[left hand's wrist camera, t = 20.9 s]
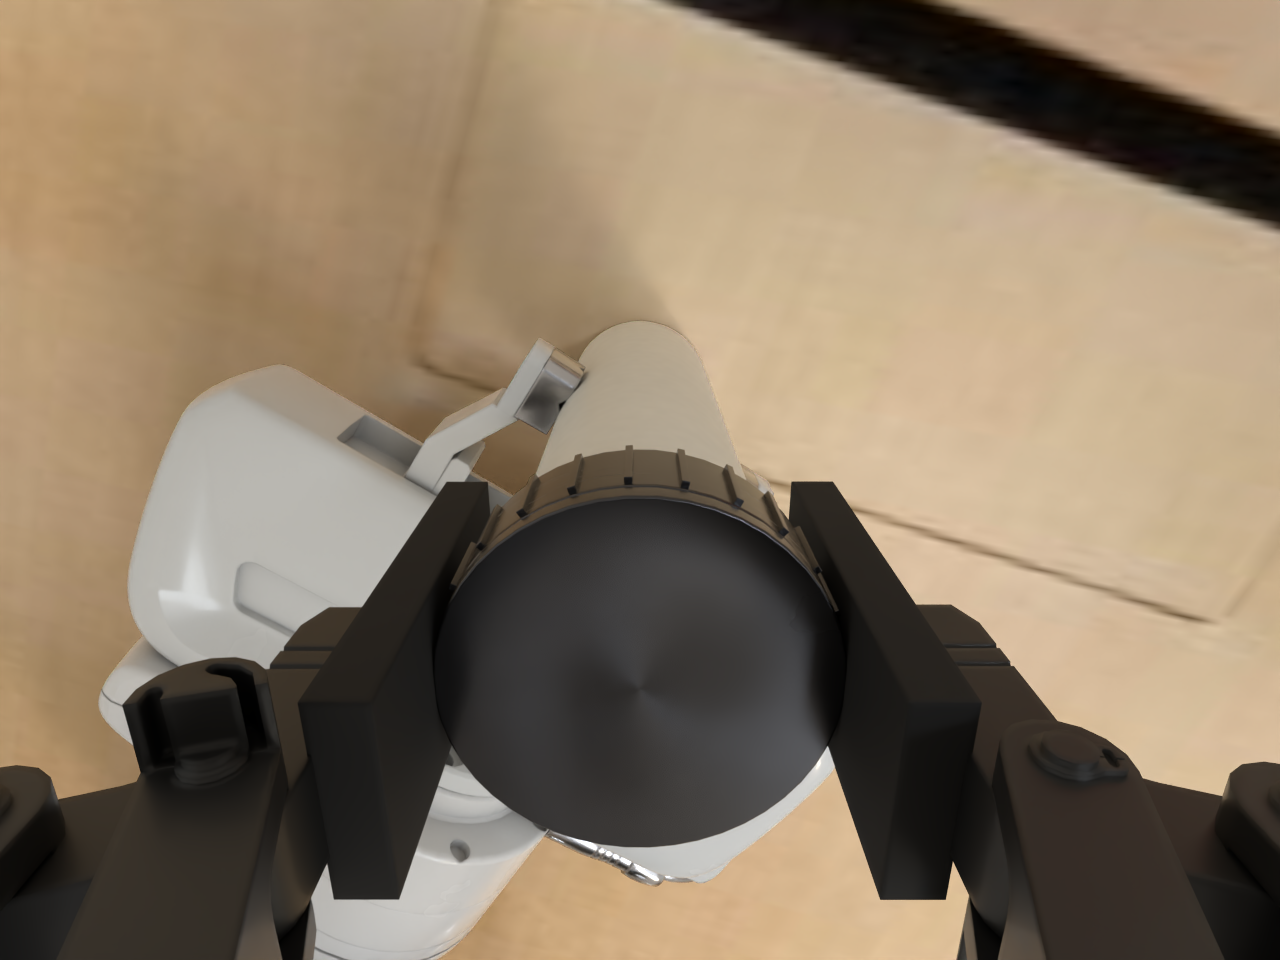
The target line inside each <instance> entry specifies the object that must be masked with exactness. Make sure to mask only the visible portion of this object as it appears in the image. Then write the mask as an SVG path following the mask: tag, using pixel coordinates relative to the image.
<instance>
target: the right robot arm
mask: <svg viewBox="0 0 1280 960" xmlns="http://www.w3.org/2000/svg"><path fill="white" fill-rule="evenodd" d="M585 368H586V367H585V366H583V365H582V364H580V363H579V362H577V361H576V360H574V359H573V358H571V357H570V356H568V355H567V354H565V353H564V352H562V351H560V350H559V349H557V348H555V346H553V345H552V344H550V343H548V342H547V341H545V340H543V339H541V338H540V337H539V338H538V340H537V341H536V343H535V344H534V346H533V347H532V349H531V350H530V352H529V353H528V355H527V356H526V358H525V359H524V361H523V363H522V364H521V366H520V368H519V369H518V371H517V373H516V374H515V376H514V378H513V379H512V381H511V383H510V384H509V386H508V388H507V389H506V388H504V387H503V388H501V389H500V390H498V391H496V392H494V393H492V394H490V395H488V396H486V397H484V398H482V399H480V400H478V401H476V402H474V403H472V404H470V405H468V406H466V407H465V408H463V409H461V410H459V411H457V412H455V413H453V414H451V415H449V416H447V417H445V418H444V419H443V420H442V422H441V423H440V424H439V425H438V426H437V427H436V428H435V430H434V431H433V432H432V433H431V434H430V435H429V436H428V438H427V439H426V440H425V442H424V443H422V442H420V441H419V440H417V439H415V438H414V437H412V436H410V435H408V434H407V433H405V432H403V431H401V430H400V429H398V428H396V427H395V426H393V425H391V424H389V423H388V422H386V421H384V420H383V419H381V418H379V417H377V416H376V415H374V414H372V413H370V412H369V411H367V410H365V409H364V408H362V407H360V406H358V405H357V404H355V403H353V402H352V401H350V400H348V399H346V398H345V397H343V396H341V395H339V394H338V393H336V392H334V391H333V390H331V389H329V388H327V387H326V386H324V385H322V384H321V383H319V382H317V381H315V380H314V379H312V378H310V377H309V376H307V375H305V374H303V373H302V372H300V371H298V370H296V369H295V368H292V367H290V366H287V365H281V364H277V365H272V366H267V367H264V368H260V369H256V370H252V371H249V372H245V373H242V374H240V375H237V376H234V377H231V378H229V379H227V380H224V381H222V382H220V383H218V384H216V385H214V386H212V387H211V388H209V389H207V390H206V391H204V392H203V393H202V394H200V395H199V396H197V397H196V398H195V399H194V400H193V401H192V402H191V403H190V404H189V405H188V407H187V408H186V409H185V411H184V412H183V413H182V415H181V417H180V419H179V421H178V423H177V425H176V427H175V429H174V431H173V433H172V435H171V437H170V440H169V442H168V444H167V447H166V449H165V451H164V454H163V456H162V459H161V462H160V464H159V467H158V469H157V472H156V475H155V477H154V480H153V483H152V486H151V489H150V492H149V495H148V498H147V501H146V504H145V507H144V511H143V514H142V517H141V520H140V524H139V528H138V531H137V535H136V539H135V543H134V547H133V551H132V555H131V559H130V563H129V570H128V581H127V592H128V601H129V607H130V610H131V614H132V617H133V619H134V621H135V623H136V625H137V627H138V629H139V631H140V632H141V634H142V637H141V638H140V639H139V640H138V641H137V642H136V643H135V644H134V645H133V646H132V647H131V649H130V650H129V651H128V652H127V654H126V655H125V656H124V657H123V659H122V660H121V661H120V662H119V663H118V665H117V666H116V667H115V668H114V670H113V671H112V673H111V674H110V675H109V677H108V678H107V680H106V682H105V683H104V685H103V687H102V689H101V692H100V695H99V701H98V706H99V710H100V713H101V715H102V717H103V718H104V720H105V721H106V722H107V723H108V725H109V726H110V727H111V728H112V729H113V730H114V731H115V732H117V733H118V734H119V735H120V736H121V737H123V738H124V739H125V740H126V741H128V742H129V743H130V744H131V745H133V743H132V739H131V735H130V732H129V728H128V725H127V721H126V718H125V714H124V710H123V707H122V704H123V703H124V702H125V701H126V700H127V699H128V698H129V696H130V695H131V694H132V693H133V692H134V691H135V690H136V689H137V688H139V687H140V686H142V685H143V684H145V683H146V682H148V681H149V680H151V679H153V678H154V677H156V676H157V675H159V674H162V673H164V672H167V671H169V670H172V669H174V668H177V667H179V666H181V665H184V664H188V663H192V662H197V661H201V660H205V659H210V658H226V657H238V658H243V659H247V660H252V661H255V662H257V663H258V664H259V665H261V666H262V667H263V668H264V669H269V668H270V663H271V662H272V661H273V660H274V658H275V657H276V656H277V655H278V653H279V652H280V651H283V650H284V646H285V644H286V643H287V642H288V641H289V639H290V638H291V637H292V636H293V634H294V633H295V632H296V631H297V629H298V628H299V627H300V625H302V624H304V623H305V622H307V621H308V620H310V619H311V618H313V617H314V616H316V615H318V614H319V613H321V612H322V611H324V610H325V609H327V608H328V607H362V606H363V605H364V603H365V602H366V600H367V599H368V597H369V596H370V594H371V593H372V591H373V590H374V588H375V587H376V586H377V584H378V583H379V581H380V580H381V578H382V577H383V575H384V574H385V572H386V571H387V569H388V568H389V566H390V565H391V563H392V562H393V560H394V559H395V557H396V556H397V554H398V553H399V551H400V550H401V549H402V547H403V546H404V544H405V543H406V541H407V540H408V538H409V537H410V535H411V534H412V532H413V531H414V529H415V528H416V526H417V525H418V523H419V522H420V520H421V519H422V517H423V516H424V514H425V513H426V512H427V510H428V509H429V507H430V506H431V504H432V503H433V501H434V500H435V498H436V497H437V495H438V494H439V492H440V491H441V489H442V488H443V486H444V485H445V483H446V482H488V490H489V504H490V515H491V513H492V510H493V508H494V507H495V506H496V505H497V504H498V505H500V506H501V507H502V506H503V505H504V504H505V503H506V502H507V501H508V500H509V499H510V498H511V497H513V496H514V495H512V494H510V493H508V492H507V491H505V490H503V489H502V488H500V487H498V486H496V485H495V484H493V483H491V482H490V481H488V480H486V479H484V478H483V477H481V476H479V475H477V474H476V473H474V472H472V469H473V468H474V466H475V464H476V462H477V461H478V459H479V457H480V455H481V454H482V452H483V450H484V449H485V447H486V446H485V442H484V441H483V440H482V439H484V438H486V437H488V436H489V435H491V434H493V433H495V432H497V431H499V430H501V429H503V428H504V427H506V426H508V425H510V424H512V423H514V422H516V421H518V419H520V420H521V421H523V422H525V423H527V424H528V425H530V426H532V427H534V428H535V429H537V430H539V431H541V432H542V433H544V434H546V435H547V433H548V432H549V430H550V428H551V427H552V425H553V424H554V422H555V421H556V419H557V417H558V415H559V412H560V410H561V407H562V404H563V402H564V401H567V400H568V399H569V397H570V396H571V395H572V394H573V392H574V390H575V389H576V387H577V386H578V384H579V382H580V380H581V378H582V376H583V374H584V370H585ZM741 467H742V470H743V472H744V475H745V478H746V480H747V481H748V482H750V483H751V484H752V485H753V486H755V487H756V488H757V489H759V490H760V491H761V492H763V493H764V494H765V493H766V492H767V491H769V492H770V493H771V494H773V496H774V493H773V491H772V489H771V486H770V484H769V482H768V480H766V479H765V478H763V477H761V476H760V475H758V474H756V473H755V472H753V471H752V470H750V469H749V468H747V467H745V466H744V465H742V464H741ZM834 768H835V765H834V763H833V760H832V757H831V754H830V751H829V748H828V746H827V748H826V749H825V751H824V753H823V754H822V756H821V757H820V759H819V761H818V762H817V764H816V765H815V766H814V768H813V769H812V770H811V771H810V772H809V774H808V775H807V776H806V777H805V778H804V780H803V781H802V782H801V783H800V784H799V785H798V786H797V787H796V788H794V789H793V790H792V791H791V792H790V793H789V794H788V795H787V796H786V797H785V798H784V799H782V800H781V801H780V802H778V803H777V804H775V805H774V806H773V807H771V808H770V809H769V810H767V811H766V812H764V813H762V814H761V815H759V816H757V817H755V818H754V819H752V820H750V821H748V822H747V823H745V824H743V825H740V826H738V827H736V828H733V829H731V830H729V831H726V832H724V833H722V834H718V835H715V836H712V837H708V838H705V839H702V840H699V841H694V842H689V843H684V844H678V845H672V846H661V847H650V848H644V847H618V846H609V845H600V844H596V843H591V842H586V841H582V840H577V839H574V838H571V837H568V836H565V835H562V834H559V833H556V832H553V831H551V830H548V829H546V828H544V827H542V826H540V825H537V824H535V823H533V822H531V821H529V820H527V819H526V818H524V817H522V816H521V815H519V814H517V813H516V812H514V811H512V810H511V809H509V808H508V807H507V806H505V805H504V804H503V803H502V802H500V801H499V800H498V799H496V798H495V797H494V796H492V795H491V794H490V793H489V792H488V791H487V790H486V789H485V788H484V787H483V786H482V785H481V784H480V783H479V782H478V781H477V780H476V779H475V778H474V777H473V775H472V774H471V773H470V772H469V770H468V769H467V768H466V767H465V765H464V764H463V763H462V762H461V760H460V758H459V757H458V755H457V753H456V752H455V750H454V748H453V747H451V749H450V752H449V755H448V758H447V761H446V764H445V767H444V770H443V773H442V776H441V779H440V782H439V785H438V788H437V790H436V793H435V796H434V799H433V802H432V805H431V808H430V811H429V814H428V817H427V820H426V823H425V826H424V829H423V831H422V834H421V837H420V840H419V843H418V846H417V849H416V852H415V855H414V858H413V861H412V864H411V867H410V870H409V872H408V875H407V878H406V881H405V884H404V887H403V890H402V893H401V896H400V899H399V900H334V898H333V893H332V887H331V882H330V876H329V871H328V866H327V865H326V867H325V869H324V871H323V873H322V875H321V878H320V880H319V882H318V884H317V886H316V888H315V890H314V893H313V895H312V897H311V899H312V904H313V909H314V914H315V922H316V929H317V932H316V940H315V949H314V958H313V960H438V959H439V958H441V957H442V956H443V955H445V954H446V953H448V952H449V951H451V950H452V949H453V948H454V947H455V946H456V945H457V944H458V943H459V942H460V941H461V940H462V939H463V938H464V937H466V936H467V935H468V933H469V932H470V931H471V930H472V928H473V927H474V926H475V925H476V923H477V922H478V921H479V919H480V918H481V917H482V916H483V914H484V913H485V912H486V911H487V909H488V908H489V907H490V905H491V904H492V903H493V901H494V900H495V899H496V898H497V896H498V895H499V894H500V892H501V891H502V890H503V889H504V887H505V886H506V885H507V883H508V882H509V881H510V879H511V878H512V877H513V876H514V874H515V873H516V872H517V871H518V869H519V868H520V867H521V865H522V864H523V863H524V861H525V860H526V859H527V858H528V856H529V855H530V854H531V852H532V851H533V850H534V849H535V847H536V846H537V845H538V843H539V842H540V841H541V840H542V838H543V837H546V838H547V837H548V839H550V840H553V841H555V842H557V843H559V844H561V845H563V846H565V847H567V848H569V849H571V850H573V851H575V852H577V853H579V854H582V855H584V856H587V857H590V858H593V859H597V860H599V861H602V862H605V863H607V864H609V865H612V866H613V867H615V868H617V869H620V870H621V873H623V874H624V875H626V876H627V877H629V878H630V879H632V880H634V881H637V882H639V883H642V884H645V885H649V886H655V887H656V886H659V885H660V884H661V883H662V882H663V880H665V881H669V882H677V883H685V882H693V881H694V882H696V883H705V882H707V881H709V880H711V879H713V878H714V877H715V876H717V875H718V874H719V873H720V872H721V871H722V870H723V869H724V868H725V866H726V865H727V864H728V863H729V862H730V861H731V860H732V859H733V858H735V857H736V856H738V855H739V854H740V853H742V852H743V851H744V850H745V849H747V848H748V847H749V846H751V845H752V844H753V843H755V842H756V841H757V840H759V839H760V838H761V837H762V836H763V835H765V834H766V833H767V832H768V831H770V830H771V829H772V828H773V827H774V826H776V825H777V824H778V823H779V822H780V821H782V820H783V819H784V818H785V817H786V816H787V815H788V814H790V813H791V812H792V811H793V810H794V809H795V808H796V807H797V806H798V805H800V804H801V803H802V802H803V801H804V800H805V799H806V798H807V797H808V796H809V795H810V794H811V793H813V792H814V791H815V790H816V789H817V788H818V787H819V786H820V785H821V784H822V783H823V781H824V780H825V779H826V778H827V777H828V776H829V775H830V774H831V772H832V771H833V769H834Z"/></svg>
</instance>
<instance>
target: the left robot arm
mask: <svg viewBox="0 0 1280 960" xmlns="http://www.w3.org/2000/svg"><path fill="white" fill-rule="evenodd" d="M489 517H490V504H489V490H488V482H446V483H445V485H444V486H443V488H442V489H441V491H440V492H439V494H438V495H437V497H436V498H435V500H434V501H433V503H432V504H431V506H430V507H429V509H428V510H427V512H426V513H425V514H424V516H423V517H422V519H421V520H420V522H419V523H418V525H417V526H416V528H415V529H414V531H413V532H412V534H411V535H410V537H409V538H408V540H407V541H406V543H405V544H404V546H403V547H402V549H401V550H400V551H399V553H398V554H397V556H396V557H395V559H394V560H393V562H392V563H391V565H390V566H389V568H388V569H387V571H386V572H385V574H384V575H383V577H382V578H381V580H380V581H379V583H378V584H377V586H376V587H375V588H374V590H373V591H372V593H371V594H370V596H369V597H368V599H367V600H366V602H365V603H364V605H363V606H362V607H328V608H327V609H325V610H324V611H322V612H321V613H319V614H318V615H316V616H314V617H313V618H311V619H310V620H308V621H307V622H305V623H304V624H302V625H300V627H299V628H298V629H297V631H296V632H295V633H294V634H293V636H292V637H291V638H290V639H289V641H288V642H287V643H286V644H285V646H284V650H283V651H280V652H279V653H278V655H277V656H276V657H275V658H274V660H273V661H272V662H271V663H270V668H269V669H264V668H263V667H262V666H261V665H259V664H258V663H257V662H255V661H252V660H247V659H243V658H238V657H226V658H210V659H205V660H201V661H197V662H192V663H188V664H184V665H181V666H179V667H177V668H174V669H172V670H169V671H167V672H164V673H162V674H159V675H157V676H156V677H154V678H153V679H151V680H149V681H148V682H146V683H145V684H143V685H142V686H140V687H139V688H137V689H136V690H135V691H134V692H133V693H132V694H131V695H130V696H129V698H128V699H127V700H126V701H125V702H124V703H123V704H122V707H123V710H124V714H125V718H126V721H127V725H128V728H129V732H130V735H131V739H132V743H133V746H134V750H135V753H136V757H137V761H138V764H139V768H140V771H141V773H140V776H139V778H138V780H137V782H134V783H131V784H127V785H124V786H120V787H115V788H110V789H106V790H101V791H96V792H92V793H87V794H82V795H78V796H73V797H68V798H63V799H59V800H58V798H57V795H56V792H55V789H54V786H53V783H52V780H51V777H50V776H48V775H47V774H46V773H44V772H43V771H42V770H41V769H39V768H35V767H27V766H18V765H15V766H8V767H1V768H0V960H313V958H314V949H315V940H316V932H317V929H316V922H315V914H314V909H313V904H312V899H311V897H312V895H313V893H314V890H315V888H316V886H317V884H318V882H319V880H320V878H321V875H322V873H323V871H324V869H325V867H326V865H327V866H328V871H329V876H330V882H331V887H332V893H333V898H334V900H399V899H400V896H401V893H402V890H403V887H404V884H405V881H406V878H407V875H408V872H409V870H410V867H411V864H412V861H413V858H414V855H415V852H416V849H417V846H418V843H419V840H420V837H421V834H422V831H423V829H424V826H425V823H426V820H427V817H428V814H429V811H430V808H431V805H432V802H433V799H434V796H435V793H436V790H437V788H438V785H439V782H440V779H441V776H442V773H443V770H444V767H445V764H446V761H447V758H448V755H449V752H450V749H451V747H452V745H451V743H450V742H449V739H448V737H447V735H446V732H445V730H444V727H443V725H442V723H441V720H440V716H439V713H438V709H437V704H436V696H435V687H434V678H433V652H434V646H435V642H436V637H437V632H438V628H439V625H440V622H441V620H442V617H443V615H444V612H445V609H446V607H447V604H448V602H449V600H450V598H451V596H452V594H453V591H451V590H449V589H448V588H449V586H450V584H451V582H452V580H453V578H454V576H455V574H456V572H457V569H458V567H459V565H460V563H461V561H462V559H463V557H464V555H465V553H466V551H467V549H468V547H469V545H470V543H471V542H473V543H477V541H478V540H479V538H480V536H481V534H482V532H483V530H484V528H485V525H486V523H487V521H488V519H489ZM789 521H790V523H791V524H792V525H793V527H794V528H796V527H798V526H800V528H801V529H802V531H803V533H804V535H805V537H806V539H807V541H808V543H809V545H810V547H811V549H812V551H813V553H814V555H815V557H816V560H817V562H818V564H819V566H820V568H821V570H822V572H821V573H822V575H823V577H824V579H825V581H826V584H827V586H828V588H829V590H830V592H831V594H832V596H833V598H834V600H835V602H836V604H837V606H838V608H839V611H840V614H841V616H840V617H837V618H838V621H839V624H840V627H841V629H842V633H843V638H844V644H845V649H846V654H847V672H846V682H845V691H844V700H843V707H842V711H841V714H840V718H839V721H838V725H837V727H836V729H835V731H834V734H833V736H832V738H831V740H830V742H829V745H828V748H829V751H830V754H831V757H832V760H833V763H834V765H835V768H836V771H837V774H838V777H839V780H840V783H841V786H842V789H843V792H844V795H845V798H846V801H847V804H848V806H849V809H850V812H851V815H852V818H853V821H854V824H855V827H856V830H857V833H858V836H859V839H860V842H861V845H862V847H863V850H864V853H865V856H866V859H867V862H868V865H869V868H870V871H871V874H872V877H873V880H874V883H875V886H876V888H877V891H878V894H879V897H880V900H946V895H947V890H948V885H949V879H950V874H951V868H952V863H953V862H954V864H955V866H956V868H957V870H958V873H959V875H960V877H961V879H962V881H963V883H964V885H965V887H966V890H967V892H968V894H969V899H968V904H967V909H966V914H965V919H964V924H963V929H962V934H961V939H960V944H959V949H958V954H957V959H956V960H1280V764H1276V763H1269V762H1258V763H1249V764H1242V765H1241V766H1239V767H1238V768H1237V769H1235V770H1234V771H1233V772H1231V773H1230V775H1229V778H1228V781H1227V784H1226V787H1225V790H1224V793H1223V796H1219V795H1214V794H1209V793H1204V792H1200V791H1195V790H1190V789H1186V788H1181V787H1176V786H1171V785H1167V784H1162V783H1158V782H1154V781H1151V780H1147V779H1143V778H1142V776H1141V774H1140V772H1139V770H1138V769H1137V768H1136V766H1135V765H1134V764H1133V762H1132V761H1131V760H1130V758H1129V757H1128V756H1127V754H1125V753H1124V752H1123V751H1121V750H1120V749H1119V748H1117V747H1116V746H1115V745H1113V744H1112V743H1111V742H1109V741H1108V740H1107V739H1105V738H1103V737H1101V736H1098V735H1096V734H1094V733H1092V732H1090V731H1088V730H1086V729H1083V728H1081V727H1078V726H1074V725H1070V724H1067V723H1063V722H1059V721H1057V720H1056V719H1055V717H1054V716H1053V715H1052V714H1051V712H1050V711H1049V710H1048V709H1047V707H1046V706H1045V705H1044V703H1043V702H1042V701H1041V700H1040V698H1039V697H1038V696H1037V695H1036V693H1035V692H1034V691H1033V690H1032V688H1031V687H1030V686H1029V685H1028V683H1027V682H1026V681H1025V680H1024V678H1023V677H1022V676H1021V675H1020V673H1019V672H1018V671H1017V670H1016V668H1015V667H1014V666H1011V665H1010V661H1009V659H1008V658H1007V657H1006V656H1005V654H1004V653H1003V652H1002V651H1001V649H1000V648H996V643H995V642H994V641H993V639H992V638H991V637H990V636H989V634H988V633H987V632H986V631H985V629H984V628H983V627H982V626H981V624H980V623H979V622H977V621H976V620H974V619H973V618H971V617H969V616H968V615H966V614H965V613H963V612H962V611H960V610H958V609H957V608H955V607H954V606H952V605H916V604H915V603H914V601H913V600H912V598H911V597H910V595H909V594H908V592H907V591H906V589H905V588H904V586H903V585H902V583H901V582H900V580H899V579H898V577H897V576H896V574H895V573H894V571H893V570H892V569H891V567H890V566H889V564H888V563H887V561H886V560H885V558H884V557H883V555H882V554H881V552H880V551H879V549H878V548H877V546H876V545H875V543H874V542H873V540H872V539H871V537H870V536H869V534H868V533H867V531H866V530H865V529H864V527H863V526H862V524H861V523H860V521H859V520H858V518H857V517H856V515H855V514H854V512H853V511H852V509H851V508H850V506H849V505H848V503H847V502H846V500H845V499H844V497H843V496H842V494H841V493H840V492H839V490H838V489H837V487H836V486H835V484H834V483H833V482H792V483H791V497H790V511H789Z"/></svg>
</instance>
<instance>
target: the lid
mask: <svg viewBox="0 0 1280 960" xmlns="http://www.w3.org/2000/svg"><path fill="white" fill-rule="evenodd" d="M821 572H822V570H821V568H820V566H819V564H818V562H817V560H816V557H815V555H814V553H813V551H812V549H811V547H810V545H809V543H808V541H807V539H806V537H805V535H804V533H803V531H802V529H801V528H800V526H798V527H796V528H794V527H793V525H792V524H791V523H790V521H789V520H788V519H787V517H786V516H785V515H784V513H783V512H782V511H781V510H780V509H779V508H778V505H777V503H776V501H775V499H774V496H773V494H771V493H770V492H769V491H767V492H766V493H765V494H764V493H763V492H761V491H760V490H759V489H757V488H756V487H755V486H753V485H752V484H751V483H750V482H748V481H747V480H745V479H743V478H741V477H740V476H738V475H736V474H735V473H734V470H733V467H732V466H730V465H728V464H726V466H725V467H724V468H723V467H721V466H718V465H716V464H713V463H711V462H708V461H706V460H703V459H700V458H696V457H692V456H689V455H685V450H683V449H677V453H675V452H668V451H661V450H637V449H633V445H626V447H625V450H620V451H611V452H604V453H599V454H595V455H591V456H587V457H583V456H582V453H581V454H577V455H575V457H574V461H572V462H569V463H566V464H564V465H561V466H558V467H556V468H554V469H553V470H551V471H549V472H547V473H545V474H543V475H541V476H540V477H538V476H537V475H536V474H534V475H532V476H530V478H529V480H528V483H527V485H526V486H525V487H524V488H522V489H521V490H519V491H518V492H517V493H516V494H515V495H514V496H513V497H511V498H510V499H509V500H508V501H507V502H506V503H505V504H504V505H503V506H502V507H501V506H500V505H498V504H497V505H496V506H495V507H494V508H493V510H492V513H491V515H490V517H489V519H488V521H487V523H486V525H485V528H484V530H483V532H482V534H481V536H480V538H479V540H478V541H477V543H473V542H471V543H470V545H469V547H468V549H467V551H466V553H465V555H464V557H463V559H462V561H461V563H460V565H459V567H458V569H457V572H456V574H455V576H454V578H453V580H452V582H451V584H450V586H449V588H448V589H449V590H451V591H453V594H452V596H451V598H450V600H449V602H448V604H447V607H446V609H445V612H444V615H443V617H442V620H441V622H440V625H439V628H438V632H437V637H436V642H435V646H434V652H433V678H434V687H435V696H436V704H437V709H438V713H439V716H440V720H441V723H442V725H443V727H444V730H445V732H446V735H447V737H448V739H449V742H450V743H451V745H452V747H453V748H454V750H455V752H456V753H457V755H458V757H459V758H460V760H461V762H462V763H463V764H464V765H465V767H466V768H467V769H468V770H469V772H470V773H471V774H472V775H473V777H474V778H475V779H476V780H477V781H478V782H479V783H480V784H481V785H482V786H483V787H484V788H485V789H486V790H487V791H488V792H489V793H490V794H491V795H492V796H494V797H495V798H496V799H498V800H499V801H500V802H502V803H503V804H504V805H505V806H507V807H508V808H509V809H511V810H512V811H514V812H516V813H517V814H519V815H521V816H522V817H524V818H526V819H527V820H529V821H531V822H533V823H535V824H537V825H540V826H542V827H544V828H546V829H548V830H551V831H553V832H556V833H559V834H562V835H565V836H568V837H571V838H574V839H577V840H582V841H586V842H591V843H596V844H600V845H609V846H618V847H644V848H650V847H661V846H672V845H678V844H684V843H689V842H694V841H699V840H702V839H705V838H708V837H712V836H715V835H718V834H722V833H724V832H726V831H729V830H731V829H733V828H736V827H738V826H740V825H743V824H745V823H747V822H748V821H750V820H752V819H754V818H755V817H757V816H759V815H761V814H762V813H764V812H766V811H767V810H769V809H770V808H771V807H773V806H774V805H775V804H777V803H778V802H780V801H781V800H782V799H784V798H785V797H786V796H787V795H788V794H789V793H790V792H791V791H792V790H793V789H794V788H796V787H797V786H798V785H799V784H800V783H801V782H802V781H803V780H804V778H805V777H806V776H807V775H808V774H809V772H810V771H811V770H812V769H813V768H814V766H815V765H816V764H817V762H818V761H819V759H820V757H821V756H822V754H823V753H824V751H825V749H826V748H827V746H828V745H829V742H830V740H831V738H832V736H833V734H834V731H835V729H836V727H837V725H838V721H839V718H840V714H841V711H842V707H843V700H844V691H845V682H846V672H847V654H846V649H845V644H844V638H843V633H842V629H841V627H840V624H839V621H838V618H837V617H840V616H841V614H840V611H839V608H838V606H837V604H836V602H835V600H834V598H833V596H832V594H831V592H830V590H829V588H828V586H827V584H826V581H825V579H824V577H823V575H822V573H821Z"/></svg>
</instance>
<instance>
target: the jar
mask: <svg viewBox="0 0 1280 960" xmlns="http://www.w3.org/2000/svg"><path fill="white" fill-rule="evenodd" d="M578 362H579V363H580V364H582V365H583V366H585V367H586V368H585V370H584V374H583V376H582V378H581V380H580V382H579V384H578V386H577V387H576V389H575V390H574V392H573V394H572V395H571V396H570V397H569V399H568V400H567V401H564V402H563V404H562V407H561V410H560V412H559V415H558V417H557V419H556V421H555V424H554V427H553V429H552V432H551V435H550V437H549V440H548V442H547V445H546V448H545V450H544V453H543V456H542V458H541V461H540V464H539V466H538V469H537V472H536V475H537V476H538V477H540V476H541V475H543V474H545V473H547V472H549V471H551V470H553V469H554V468H556V467H558V466H561V465H564V464H566V463H569V462H572V461H574V457H575V455H577V454H581V453H582V456H583V457H587V456H591V455H595V454H599V453H604V452H611V451H620V450H625V447H626V445H633V449H637V450H661V451H668V452H675V453H677V449H683V450H685V455H689V456H692V457H696V458H700V459H703V460H706V461H708V462H711V463H713V464H716V465H718V466H721V467H723V468H724V467H725V466H726V464H728V465H730V466H732V467H733V470H734V473H735V474H736V475H738V476H740V477H741V478H743V479H745V480H746V478H745V475H744V472H743V470H742V467H741V464H740V462H739V459H738V456H737V454H736V451H735V448H734V446H733V443H732V440H731V438H730V435H729V432H728V430H727V427H726V424H725V422H724V419H723V416H722V414H721V411H720V408H719V406H718V403H717V400H716V398H715V395H714V392H713V390H712V387H711V384H710V382H709V379H708V376H707V374H706V371H705V368H704V366H703V363H702V361H701V359H700V357H699V355H698V353H697V352H696V350H695V349H694V347H693V346H692V345H691V344H690V343H689V341H688V340H687V339H685V338H684V337H683V336H682V335H681V334H679V333H678V332H676V331H675V330H673V329H671V328H669V327H667V326H664V325H662V324H659V323H654V322H649V321H631V322H626V323H621V324H618V325H615V326H613V327H611V328H609V329H607V330H605V331H604V332H602V333H601V334H599V335H598V336H597V337H596V338H594V339H593V340H592V341H591V342H590V343H589V345H588V346H587V347H586V348H585V350H584V351H583V353H582V355H581V356H580V358H579V361H578Z"/></svg>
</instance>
